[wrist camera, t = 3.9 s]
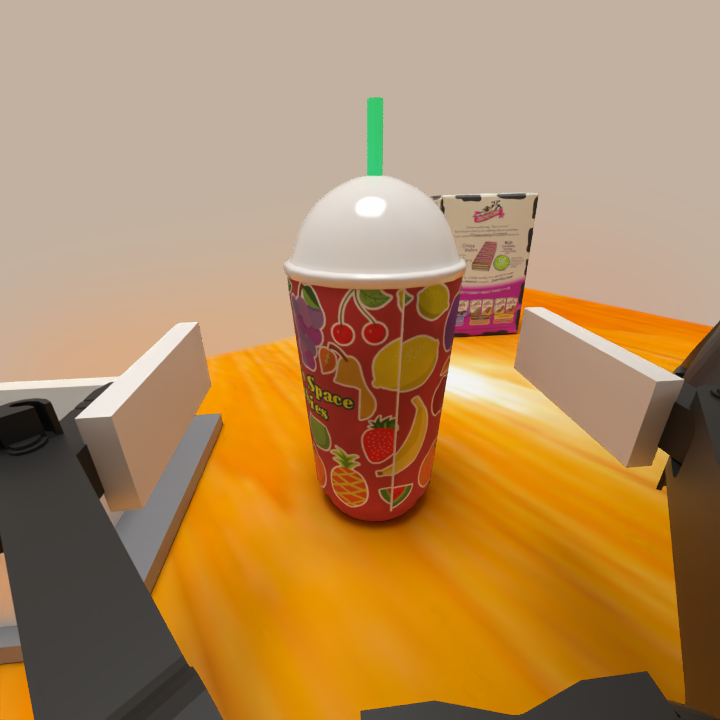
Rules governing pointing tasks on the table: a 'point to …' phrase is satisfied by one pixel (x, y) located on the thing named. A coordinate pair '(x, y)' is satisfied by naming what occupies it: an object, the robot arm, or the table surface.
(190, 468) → the board
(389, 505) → the smoothie
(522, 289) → the candy bar box
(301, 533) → the table surface
